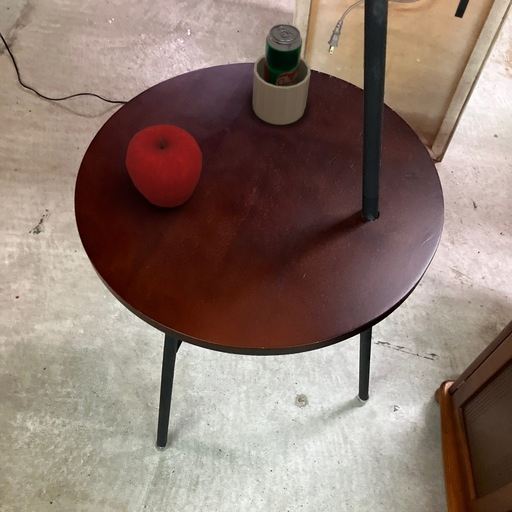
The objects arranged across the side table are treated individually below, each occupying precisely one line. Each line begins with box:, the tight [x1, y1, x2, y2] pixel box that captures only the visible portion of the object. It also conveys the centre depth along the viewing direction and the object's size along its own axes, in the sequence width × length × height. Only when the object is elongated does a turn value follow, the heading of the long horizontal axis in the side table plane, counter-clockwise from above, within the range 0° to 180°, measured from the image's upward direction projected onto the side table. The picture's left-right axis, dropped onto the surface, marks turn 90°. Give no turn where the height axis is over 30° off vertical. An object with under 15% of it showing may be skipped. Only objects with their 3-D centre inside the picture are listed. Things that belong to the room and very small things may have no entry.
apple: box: [125, 124, 203, 208], centre depth 71 cm, size 10×10×11 cm
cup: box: [252, 53, 311, 126], centre depth 83 cm, size 8×8×7 cm
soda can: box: [264, 23, 303, 87], centre depth 80 cm, size 5×5×12 cm
